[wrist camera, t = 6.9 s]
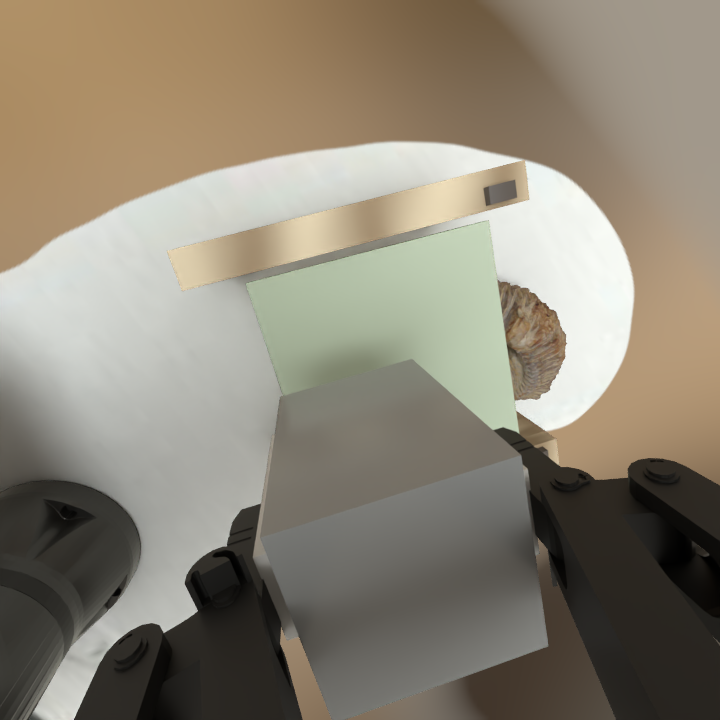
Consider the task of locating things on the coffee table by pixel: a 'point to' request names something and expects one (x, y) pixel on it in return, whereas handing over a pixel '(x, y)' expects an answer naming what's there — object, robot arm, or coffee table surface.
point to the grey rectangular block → (398, 537)
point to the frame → (359, 238)
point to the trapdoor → (395, 319)
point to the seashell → (531, 341)
